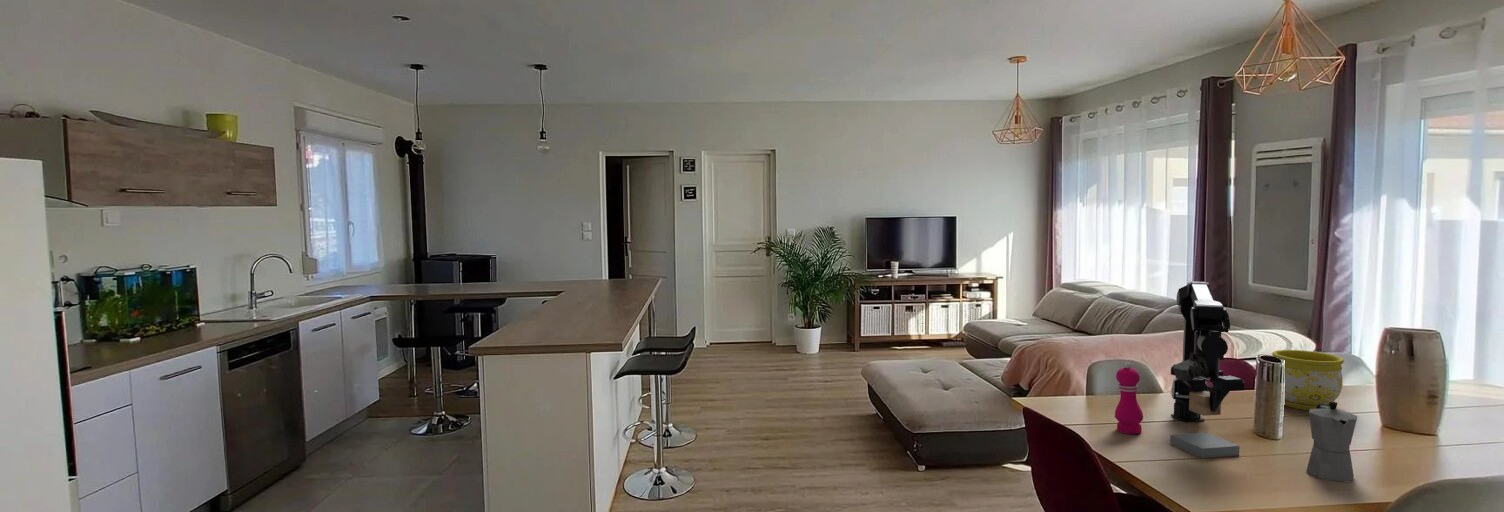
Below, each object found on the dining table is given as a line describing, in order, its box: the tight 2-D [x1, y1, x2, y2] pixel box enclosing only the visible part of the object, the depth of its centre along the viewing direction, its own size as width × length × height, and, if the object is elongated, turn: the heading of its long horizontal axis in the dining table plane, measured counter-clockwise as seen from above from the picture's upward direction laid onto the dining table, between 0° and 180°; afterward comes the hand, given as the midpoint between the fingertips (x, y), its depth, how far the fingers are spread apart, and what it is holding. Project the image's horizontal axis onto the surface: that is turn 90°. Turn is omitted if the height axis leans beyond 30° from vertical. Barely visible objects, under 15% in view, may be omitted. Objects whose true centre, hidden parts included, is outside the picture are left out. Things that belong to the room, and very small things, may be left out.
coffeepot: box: [1305, 401, 1358, 483], centre depth 168 cm, size 15×9×18 cm, turn 159°
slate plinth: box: [1169, 431, 1241, 459], centre depth 186 cm, size 11×11×2 cm
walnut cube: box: [1189, 391, 1222, 416], centre depth 185 cm, size 5×5×5 cm
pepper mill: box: [1114, 362, 1144, 435], centre depth 201 cm, size 7×7×20 cm
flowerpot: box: [1271, 349, 1345, 411], centre depth 224 cm, size 18×18×16 cm
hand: (1204, 408), depth 185 cm, fingers closed on walnut cube, 5 cm apart
